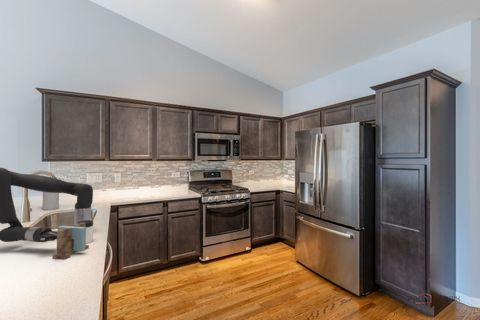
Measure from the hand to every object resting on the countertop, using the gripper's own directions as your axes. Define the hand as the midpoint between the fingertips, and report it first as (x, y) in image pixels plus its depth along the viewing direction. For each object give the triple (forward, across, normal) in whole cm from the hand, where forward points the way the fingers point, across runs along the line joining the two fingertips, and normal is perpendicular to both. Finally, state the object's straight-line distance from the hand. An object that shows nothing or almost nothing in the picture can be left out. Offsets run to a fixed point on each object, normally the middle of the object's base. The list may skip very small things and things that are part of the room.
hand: (68, 236), depth 128 cm
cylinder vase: (-104, +97, +9) cm, 142 cm away
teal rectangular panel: (+2, 0, +7) cm, 7 cm away
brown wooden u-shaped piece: (+2, 0, +9) cm, 9 cm away
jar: (-4, +17, +9) cm, 20 cm away
